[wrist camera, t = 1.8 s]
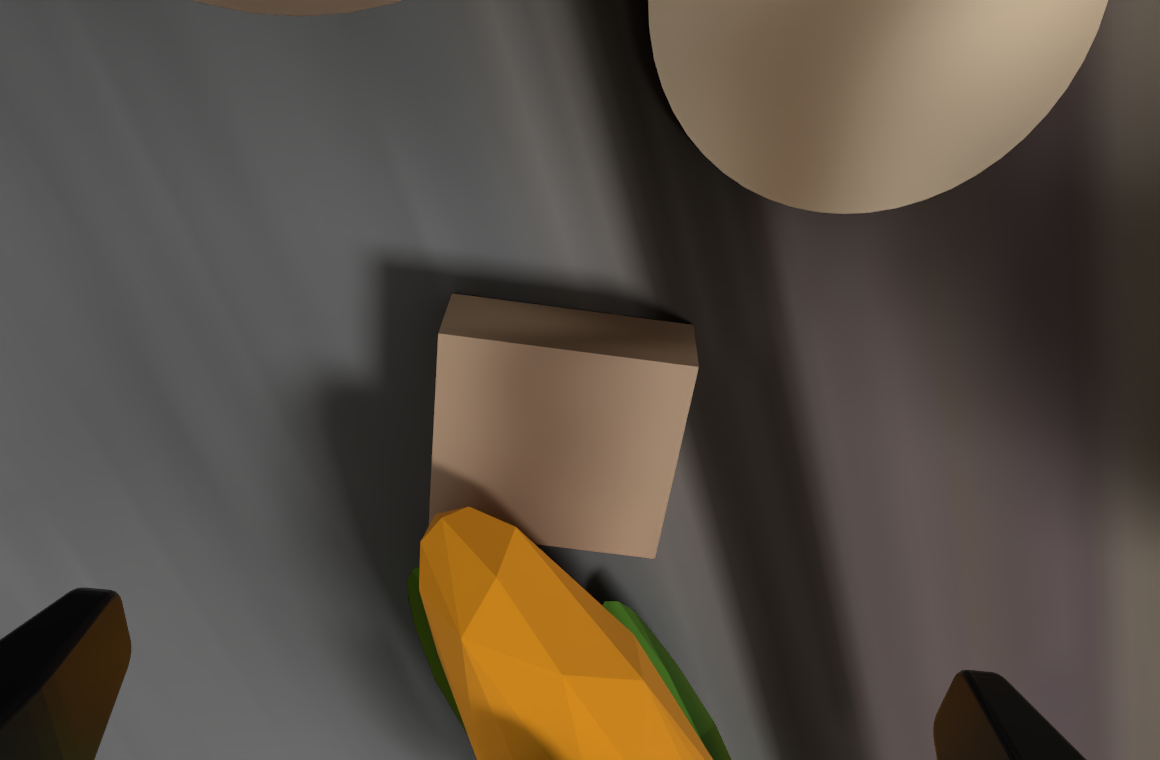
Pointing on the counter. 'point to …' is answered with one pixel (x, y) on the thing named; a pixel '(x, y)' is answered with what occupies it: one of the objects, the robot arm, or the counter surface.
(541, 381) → the tile
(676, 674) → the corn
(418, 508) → the counter surface
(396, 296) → the counter surface
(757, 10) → the coaster
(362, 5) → the jar
